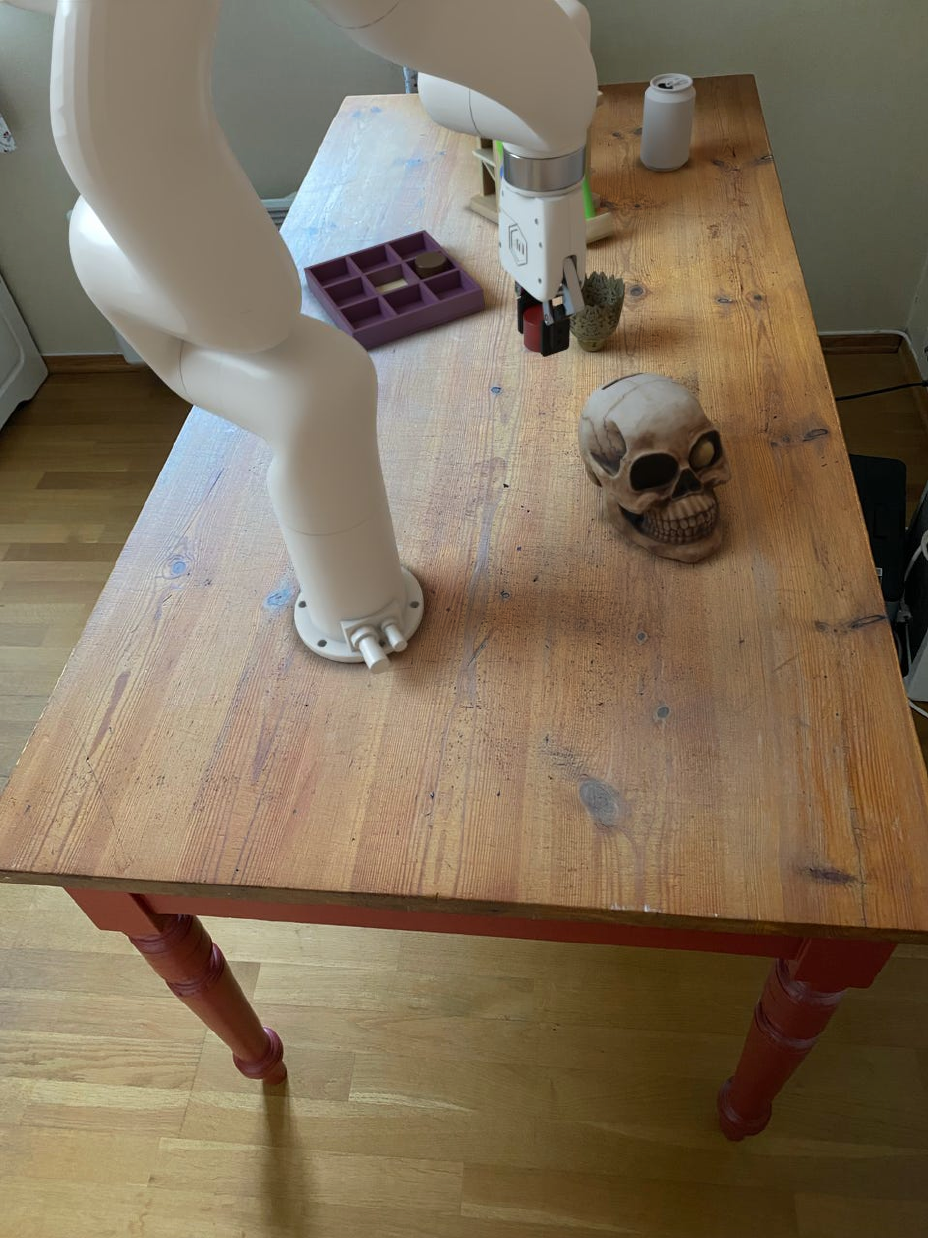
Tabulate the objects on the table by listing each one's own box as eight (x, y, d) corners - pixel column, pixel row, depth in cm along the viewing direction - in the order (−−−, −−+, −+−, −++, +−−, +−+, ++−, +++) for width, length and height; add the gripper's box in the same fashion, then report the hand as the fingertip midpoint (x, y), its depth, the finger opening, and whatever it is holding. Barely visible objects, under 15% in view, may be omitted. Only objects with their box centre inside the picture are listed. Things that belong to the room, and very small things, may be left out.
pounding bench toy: (642, 226, 129) (652, 92, 115) (568, 263, 124) (570, 128, 110) (538, 176, 141) (537, 49, 127) (468, 208, 136) (458, 80, 123)
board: (484, 309, 119) (483, 288, 116) (356, 353, 115) (352, 333, 112) (427, 249, 130) (424, 229, 127) (308, 287, 126) (303, 267, 123)
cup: (618, 364, 109) (622, 305, 103) (558, 361, 110) (559, 302, 104) (624, 329, 113) (628, 271, 107) (566, 326, 115) (567, 268, 108)
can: (630, 160, 142) (636, 77, 133) (670, 148, 144) (678, 65, 135) (656, 178, 138) (664, 94, 128) (697, 165, 139) (707, 81, 130)
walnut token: (452, 283, 122) (450, 261, 120) (425, 292, 121) (422, 270, 119) (440, 269, 125) (437, 248, 122) (412, 278, 124) (410, 257, 121)
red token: (570, 345, 94) (571, 318, 91) (535, 357, 93) (535, 330, 90) (550, 326, 96) (551, 299, 94) (516, 338, 95) (516, 311, 93)
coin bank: (706, 571, 86) (712, 459, 77) (547, 531, 94) (534, 425, 85) (756, 476, 95) (768, 365, 86) (606, 447, 103) (601, 342, 93)
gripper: (466, 140, 85) (476, 314, 99) (553, 209, 75) (551, 392, 89) (535, 121, 87) (536, 295, 101) (629, 187, 76) (615, 369, 90)
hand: (543, 338), depth 94 cm, fingers closed on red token, 4 cm apart
